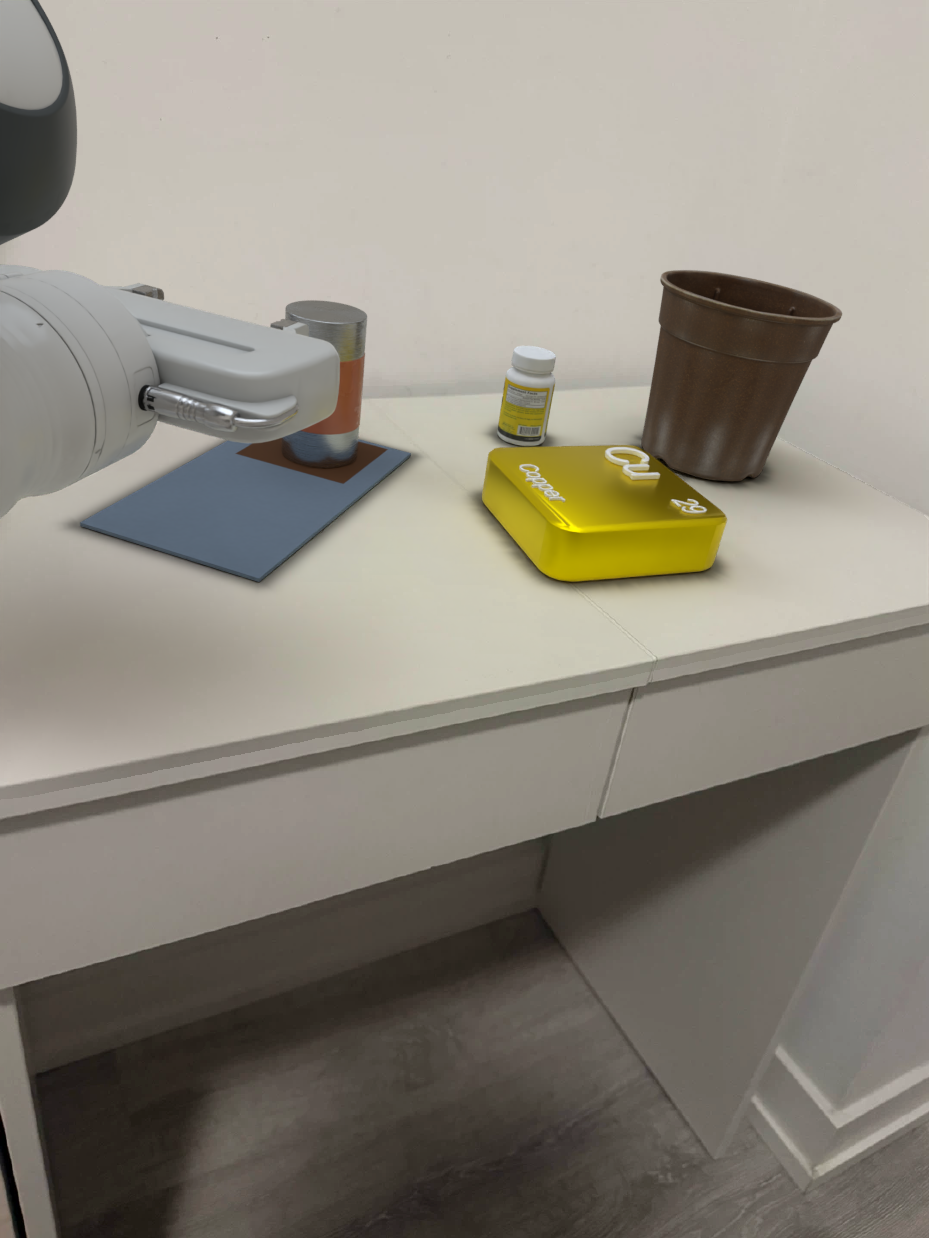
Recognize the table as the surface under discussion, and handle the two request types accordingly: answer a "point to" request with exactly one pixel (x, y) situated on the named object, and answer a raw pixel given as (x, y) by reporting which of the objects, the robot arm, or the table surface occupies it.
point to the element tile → (600, 512)
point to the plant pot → (728, 370)
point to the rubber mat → (243, 505)
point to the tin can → (339, 432)
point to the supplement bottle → (527, 396)
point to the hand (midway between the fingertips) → (224, 317)
